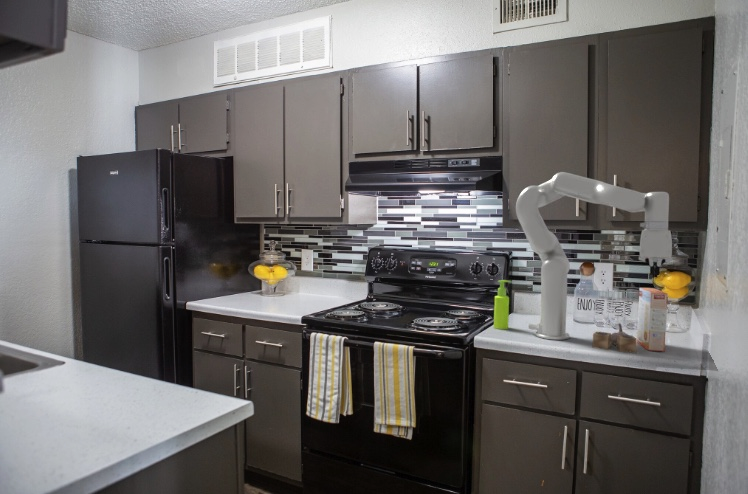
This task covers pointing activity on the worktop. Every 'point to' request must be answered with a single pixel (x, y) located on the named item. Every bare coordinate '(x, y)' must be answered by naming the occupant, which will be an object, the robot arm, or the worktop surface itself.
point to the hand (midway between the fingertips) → (654, 277)
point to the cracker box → (652, 319)
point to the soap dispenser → (501, 307)
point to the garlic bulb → (614, 335)
